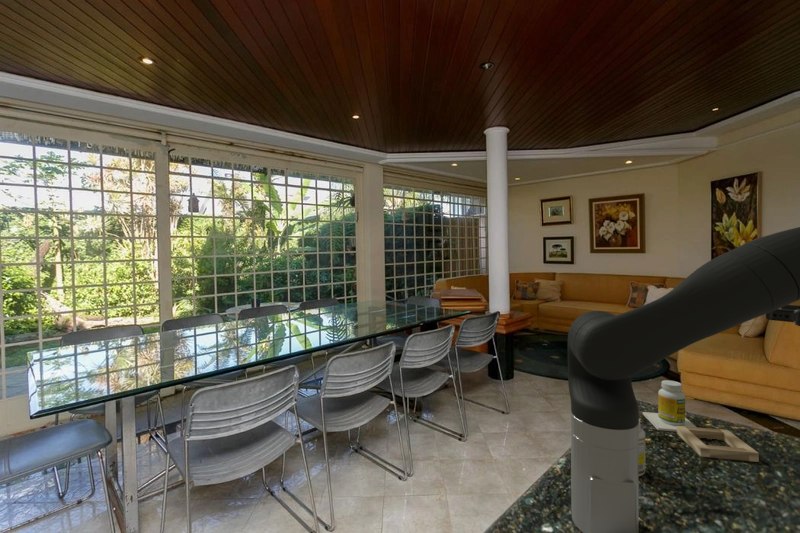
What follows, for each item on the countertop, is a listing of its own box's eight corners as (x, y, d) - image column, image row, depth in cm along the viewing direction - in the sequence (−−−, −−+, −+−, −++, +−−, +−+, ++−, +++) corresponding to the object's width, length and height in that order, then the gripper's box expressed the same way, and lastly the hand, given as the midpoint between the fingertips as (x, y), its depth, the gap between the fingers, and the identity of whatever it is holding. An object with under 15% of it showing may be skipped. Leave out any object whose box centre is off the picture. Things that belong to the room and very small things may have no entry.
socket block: (758, 462, 74) (758, 453, 74) (700, 456, 76) (700, 447, 76) (727, 437, 84) (727, 429, 84) (676, 433, 86) (676, 425, 86)
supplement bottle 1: (617, 458, 76) (617, 409, 76) (648, 469, 72) (649, 418, 72) (607, 469, 73) (607, 418, 72) (640, 481, 68) (640, 427, 68)
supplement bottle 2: (663, 414, 95) (663, 377, 95) (688, 422, 90) (689, 383, 90) (654, 420, 92) (654, 382, 92) (679, 428, 87) (680, 388, 87)
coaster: (701, 433, 86) (701, 431, 86) (657, 430, 88) (657, 427, 88) (682, 416, 94) (682, 414, 94) (642, 413, 97) (642, 412, 97)
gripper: (918, 297, 64) (786, 290, 78) (904, 304, 57) (761, 295, 71) (917, 340, 64) (785, 326, 78) (902, 353, 57) (760, 334, 71)
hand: (774, 311), depth 74 cm, fingers open, 8 cm apart
